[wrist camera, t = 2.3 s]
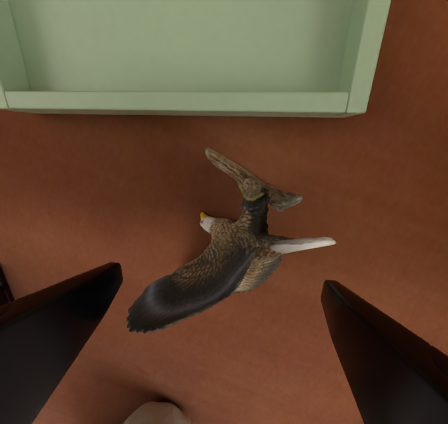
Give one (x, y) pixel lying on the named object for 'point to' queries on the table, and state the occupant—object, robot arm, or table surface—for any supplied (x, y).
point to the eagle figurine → (222, 256)
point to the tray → (190, 56)
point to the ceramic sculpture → (157, 414)
